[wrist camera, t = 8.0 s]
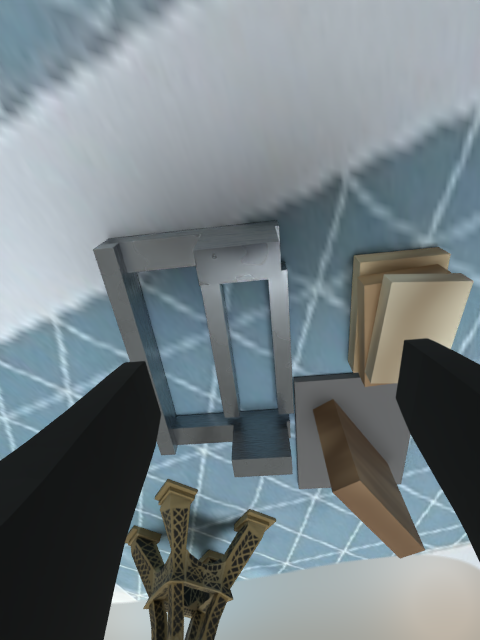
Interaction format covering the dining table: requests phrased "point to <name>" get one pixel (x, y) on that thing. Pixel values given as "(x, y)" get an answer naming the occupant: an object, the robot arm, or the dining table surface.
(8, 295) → the dining table surface
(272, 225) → the rack
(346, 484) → the walnut sheet
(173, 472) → the dining table surface
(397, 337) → the offcut stack
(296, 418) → the mat
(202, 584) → the eiffel tower
